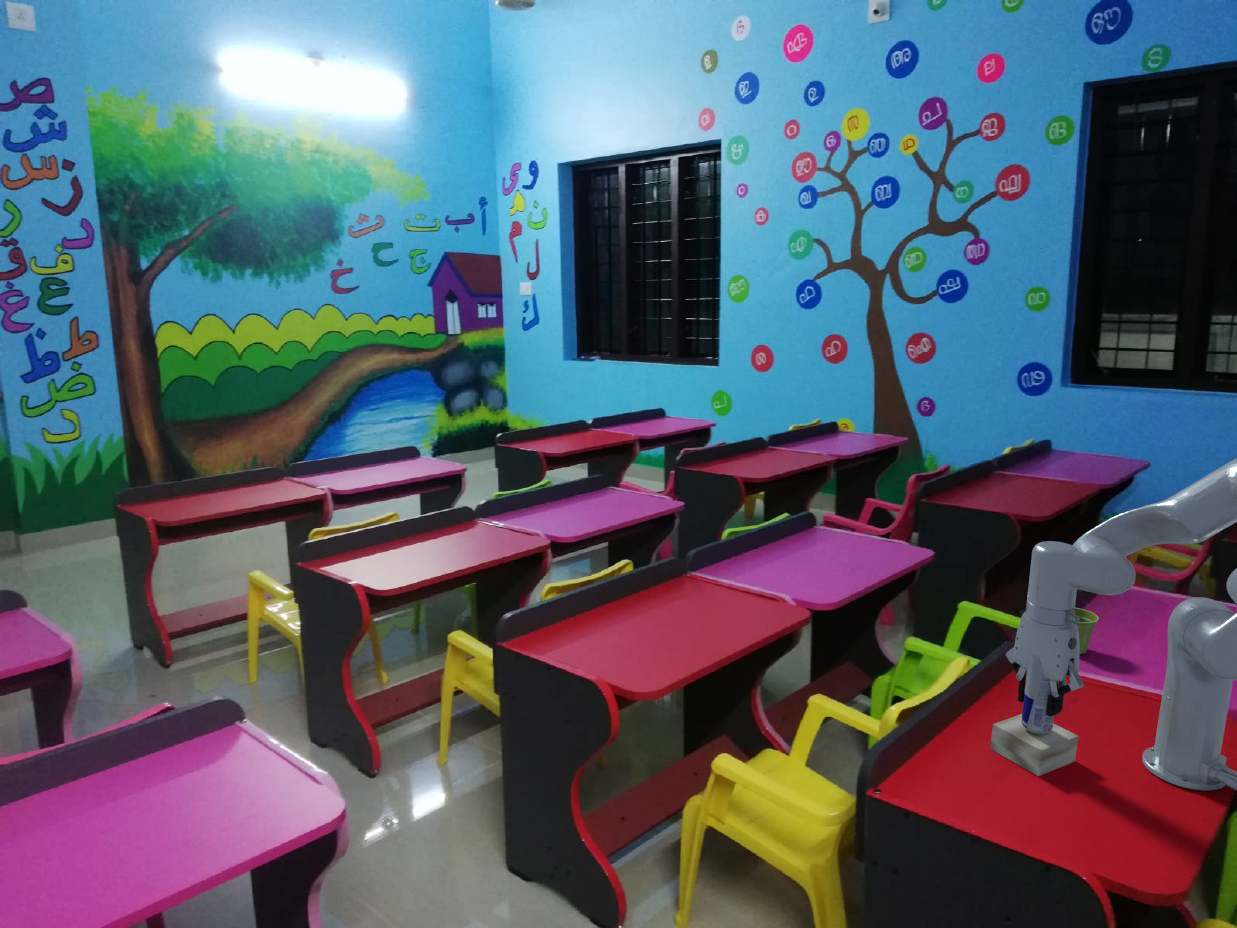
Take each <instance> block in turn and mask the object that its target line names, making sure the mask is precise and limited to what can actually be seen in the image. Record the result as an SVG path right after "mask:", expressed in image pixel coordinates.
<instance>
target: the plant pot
mask: <svg viewBox="0 0 1237 928" xmlns="http://www.w3.org/2000/svg"><path fill="white" fill-rule="evenodd" d="M1075 615H1076V616H1079V617H1080V621H1079V622H1078V623H1077V624H1076V625H1077V627H1078V633H1079V647H1080V652H1079V655H1084V654H1086V653H1087V651H1088V648H1089V644H1090V641H1091V637H1092V635H1093V634H1092V633H1093V630H1094V628H1095V627H1096V623H1099V620H1100V618H1099V616H1098V615H1097V614H1096V613H1094V612H1092V611H1090V610H1086V609H1083V608H1078V607H1075ZM1074 624H1075V623H1074Z"/></svg>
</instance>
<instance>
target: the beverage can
mask: <svg viewBox="0 0 1237 928" xmlns="http://www.w3.org/2000/svg"><path fill="white" fill-rule="evenodd" d="M1032 656H1034V657H1031V658H1030V661H1029V665H1028V669H1027V674H1026V684H1025V693H1024V702H1022V703H1023V704H1022V713H1021V714H1022V725H1023V726H1024V727H1025V728H1026V729H1027V730H1028V731H1030V732H1032V733H1036V734H1046V733H1047V732H1049V731H1051V730H1052V727H1053V723H1054V721H1055V720H1054V719H1055V715H1054V716H1051V717H1049V716H1047V714H1046V710H1047V702H1048V696H1049V695H1050V694H1052V692H1051V686H1050V679H1049V678H1047V677H1045V676H1044V674H1043V669H1042V663H1041V661H1040V660H1039V659H1041V658H1040V657H1037V656H1035V655H1033V654H1032ZM1035 657H1036V658H1035ZM1037 658H1039V659H1037Z"/></svg>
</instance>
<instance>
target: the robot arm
mask: <svg viewBox="0 0 1237 928" xmlns="http://www.w3.org/2000/svg"><path fill="white" fill-rule="evenodd" d="M1236 523H1237V458H1234V459H1233V460H1232V459H1231V460H1230V461H1229V462H1227V463H1225V464H1223V465H1222V466H1220V467H1219V468H1217V469H1215V470H1213V471H1211V472H1210V473H1209V474H1207V475H1205V476H1204V477H1202V478H1200V479H1198V480H1197V481H1194V482H1193V483H1191V484H1190V485H1188V486H1187V487H1184V489H1182V490H1180V491H1178V492H1177V493H1175V494H1173V495H1172V496H1169V497H1168V498H1166V499H1163V500H1161V501H1158V502H1154V503H1151V504H1147V505H1144V506H1140V507H1138V508H1134V509H1131V510H1128V511H1124V512H1123V513H1119V514H1117V515H1115V516H1113V517H1111V518H1109V519H1107V520H1105V521H1103V522H1102V523H1099V524H1098V525H1096V526H1095V527H1093V528H1092V529H1090V530H1089V531H1086V532H1085V533H1084V534H1082V535H1081V536H1080V537H1079V538H1077V540H1075V541H1074V543H1073V544H1069V543H1066V542H1061V541H1055V540H1053V541H1051V540H1049V541H1041V542H1038V543H1037V544H1035V545H1034V547H1033V548H1032V552H1031V563H1030V571H1029V580H1028V589H1027V599H1026V608H1025V611H1024V612H1023V614H1022V616H1021V618H1020V621H1019V624H1018V626H1017V630H1016V631H1017V632H1016V634H1015V635H1016V636H1015V640H1014V641H1015V642H1014V646H1013V647H1011V648H1010V649H1009V650H1008V651H1007V652H1005V657H1006V658H1007V660H1008V661H1009V662H1010V664H1011V666H1012V668H1013V670H1014V672H1015V673H1016V676H1015V678H1016V679H1017V681H1018V687H1017V688H1018V689H1017V694H1018V697H1017V701H1018V702H1019V703H1023V702H1024V693H1025V684H1026V674H1027V669H1028V665H1029V661H1030V658H1031V657H1034V656H1032V654H1033V655H1035V656H1037V657H1040V658H1041V659H1039V658H1037V659H1039V660H1040V661H1041V663H1042V669H1043V674H1044V676H1045V677H1047V678H1049V679H1050V686H1051V692H1052V694H1050V695H1049V696H1048V702H1047V710H1046V714H1047V716H1049V717H1051V716H1054V717H1055V716H1056V715H1058V714H1059V715H1060V714H1061V712H1062V710H1063V706H1064V705H1063V704H1064V698H1065V695H1066V694H1068V693H1070V692H1072V691H1073V692H1074V691H1075V690H1079V689H1081V688H1084V686H1085V685H1084V682H1083V680H1082V678H1081V676H1080V674H1079V667H1080V654H1079V652H1080V647H1079V633H1078V627H1077V625H1076V624H1077V623H1078V622H1079V621H1080V617H1079V616H1076V615H1075V608H1076V600H1077V591H1085V592H1089V593H1093V594H1098V595H1103V596H1104V595H1105V596H1115V595H1121V594H1124V593H1125V592H1127V591H1129V590H1130V589H1131V588H1132V587H1133V586H1134V584H1135V583H1136V582H1135V581H1136V570H1135V567H1134V565H1133V564H1132V562H1131V561H1130V560H1129V558H1127V557H1128V556H1130V555H1132V554H1134V553H1136V552H1138V551H1139V550H1142V549H1145V548H1149V547H1152V546H1157V545H1165V544H1166V545H1167V544H1169V545H1170V544H1172V545H1173V544H1177V545H1191V544H1192V545H1193V544H1200V543H1202V542H1205V541H1206V540H1208V539H1210V538H1212V537H1213V536H1215V535H1216V534H1218V533H1220V532H1221V531H1223V530H1225V529H1227V528H1229V527H1230V526H1232V525H1234V524H1236ZM1226 591H1227V593H1228V595H1229V597H1230V598H1231V599H1232V600H1233V602H1234V603H1236V604H1237V568H1235V569H1234V570H1233V571H1231V574H1230V575H1229V576H1228V578H1227V581H1226ZM1074 623H1075V624H1074ZM1035 658H1036V657H1035ZM1066 676H1067V677H1068V679H1069V683H1068V682H1067V677H1066ZM1164 677H1165V678H1164V683H1163V689H1162V696H1161V702H1160V709H1159V715H1158V721H1157V728H1156V735H1155V742H1154V745H1153V746H1152V747H1148V748H1146V749H1145V750H1143V753H1142V760H1141V761H1142V764H1143V766H1144V767H1145V768H1146V769H1147V770H1148V771H1149V772H1150V773H1152V774H1153V775H1154V776H1155V777H1158V778H1160V779H1162V780H1163V781H1165V782H1167V783H1170V784H1172V785H1175V786H1178V787H1180V788H1185V789H1190V790H1195V791H1216V790H1217V791H1218V790H1220V789H1222V788H1224V787H1225V786H1227V787H1229V788H1231V789H1232V790H1235V791H1237V771H1236V770H1234V769H1231V768H1230V767H1228V765H1226V762H1227V756H1225V755H1223V754H1221V751H1222V745H1223V742H1224V741H1223V740H1224V734H1225V728H1226V723H1227V719H1228V718H1227V716H1228V712H1229V705H1230V700H1231V697H1232V696H1231V695H1232V689H1233V681H1237V611H1236V612H1234V611H1233V610H1231V609H1230V608H1229V607H1227V606H1226V605H1224V604H1223V603H1221V602H1220V601H1217V600H1215V599H1212V598H1208V597H1197V596H1196V597H1192V598H1188V599H1185V600H1183V601H1181V602H1180V603H1179V604H1178V605H1177V606H1175V607H1174V609H1173V611H1172V612H1171V614H1170V616H1169V619H1168V624H1167V663H1166V669H1165V676H1164Z"/></svg>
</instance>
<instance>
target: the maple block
mask: <svg viewBox="0 0 1237 928" xmlns="http://www.w3.org/2000/svg"><path fill="white" fill-rule="evenodd" d="M1078 741H1079V735H1078V734H1075V733H1074V732H1071V731H1070V730H1068V729H1065V728H1063V727H1061V726H1059V725H1058V724H1055V723H1054V722H1053V727H1052V730H1051V731H1049V732H1047V733H1046V734H1036V733H1032V732H1030V731H1028V730H1027V729H1026V728H1025V727H1024V726H1023V725H1022V713H1021V714H1018V715H1015V716H1013V717H1009V718H1006V719H1004V720H1001V721H998V722H995V723H993V724H992V732H991V741H990V750H991V751H994V752H995V753H997V754H999V755H1001V757H1003V758H1006V759H1007V760H1009V761H1010V762H1012V763H1014V764H1016V765H1017V766H1019V767H1022V768H1023V769H1024V770H1027V771H1029V772H1030V773H1031V774H1034V775H1036V776H1037V777H1040V776H1043V775H1045V774H1047V773H1050V772H1053V771H1054V770H1058V769H1060V768H1062V767H1065V766H1067V765H1069V764H1072V763H1074V762H1076V756H1077V749H1078V744H1079V743H1078Z"/></svg>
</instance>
